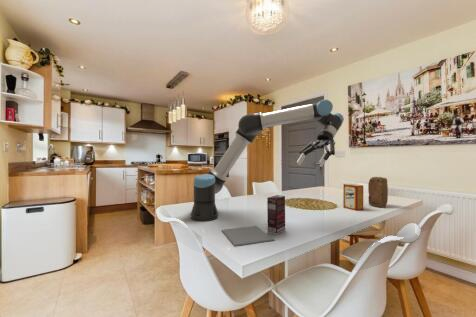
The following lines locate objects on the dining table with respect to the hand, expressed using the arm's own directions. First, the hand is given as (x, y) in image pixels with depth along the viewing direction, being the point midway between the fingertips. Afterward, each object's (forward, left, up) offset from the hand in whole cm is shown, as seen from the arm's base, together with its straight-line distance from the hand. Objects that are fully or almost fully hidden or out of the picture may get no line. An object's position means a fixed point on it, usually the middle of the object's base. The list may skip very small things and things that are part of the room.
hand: (308, 163), depth 109 cm
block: (-18, +71, -30) cm, 79 cm away
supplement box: (+4, -21, -30) cm, 37 cm away
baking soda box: (-18, +49, -30) cm, 60 cm away
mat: (+4, -35, -30) cm, 47 cm away
